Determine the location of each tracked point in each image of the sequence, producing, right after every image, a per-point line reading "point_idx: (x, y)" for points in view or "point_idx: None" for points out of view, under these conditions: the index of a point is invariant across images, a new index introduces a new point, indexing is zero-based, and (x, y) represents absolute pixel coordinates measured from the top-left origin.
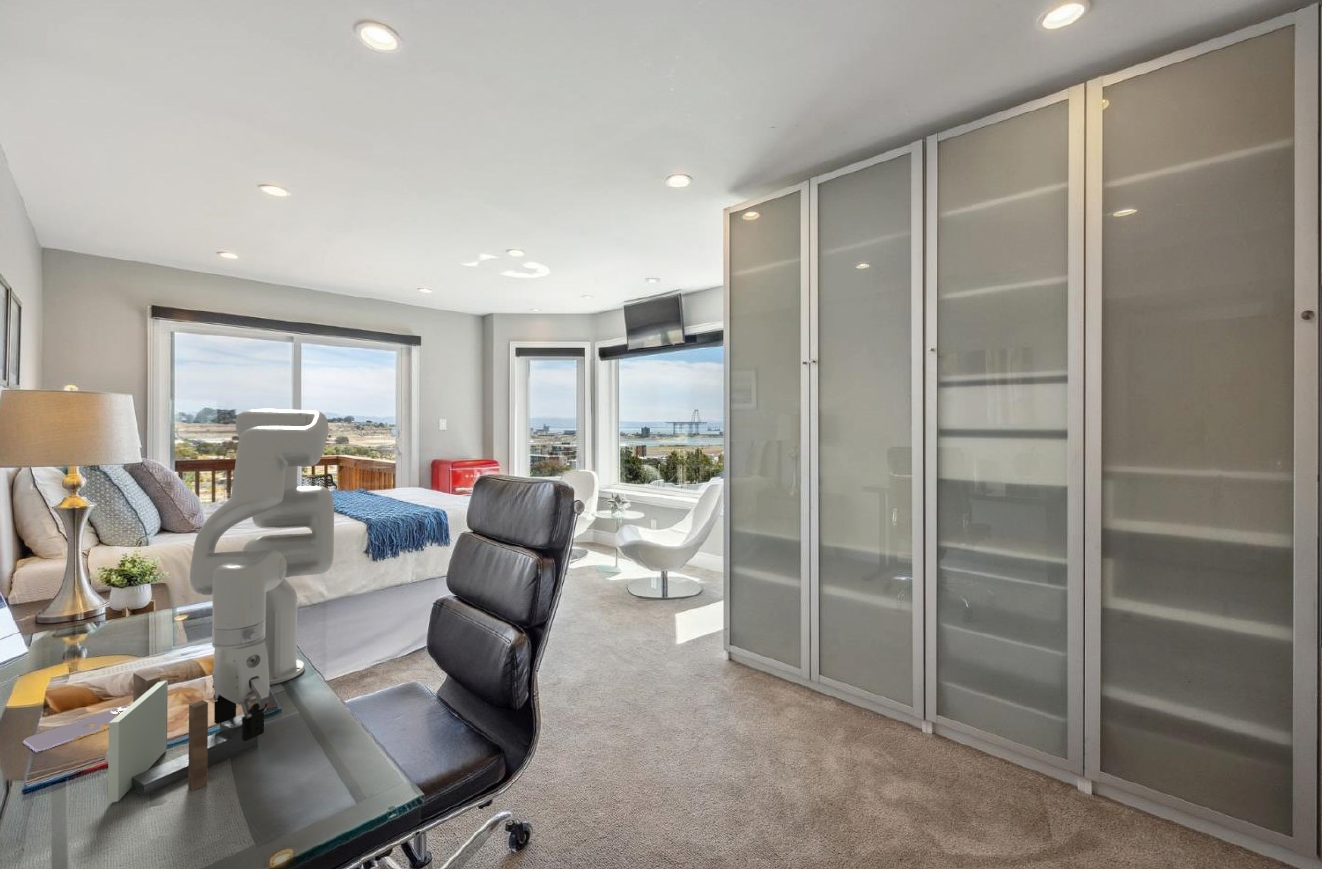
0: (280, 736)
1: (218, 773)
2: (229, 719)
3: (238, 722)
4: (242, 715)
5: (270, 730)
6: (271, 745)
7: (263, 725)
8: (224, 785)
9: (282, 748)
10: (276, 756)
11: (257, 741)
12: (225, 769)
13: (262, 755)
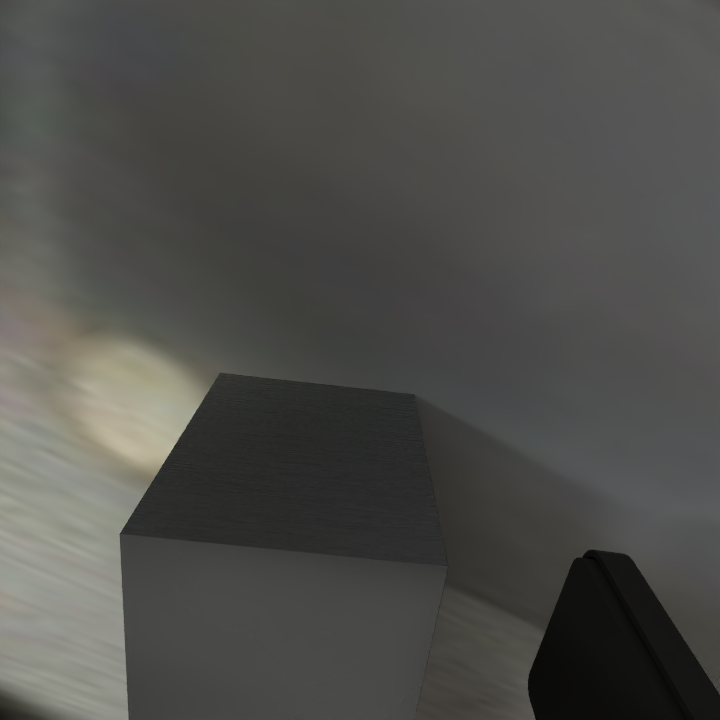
0: (448, 203)
1: (480, 666)
2: (132, 685)
3: (308, 688)
4: (158, 579)
5: (246, 162)
6: (509, 340)
7: (663, 622)
8: None
9: (644, 336)
10: (692, 430)
11: (418, 417)
12: (479, 633)
13: (570, 458)
